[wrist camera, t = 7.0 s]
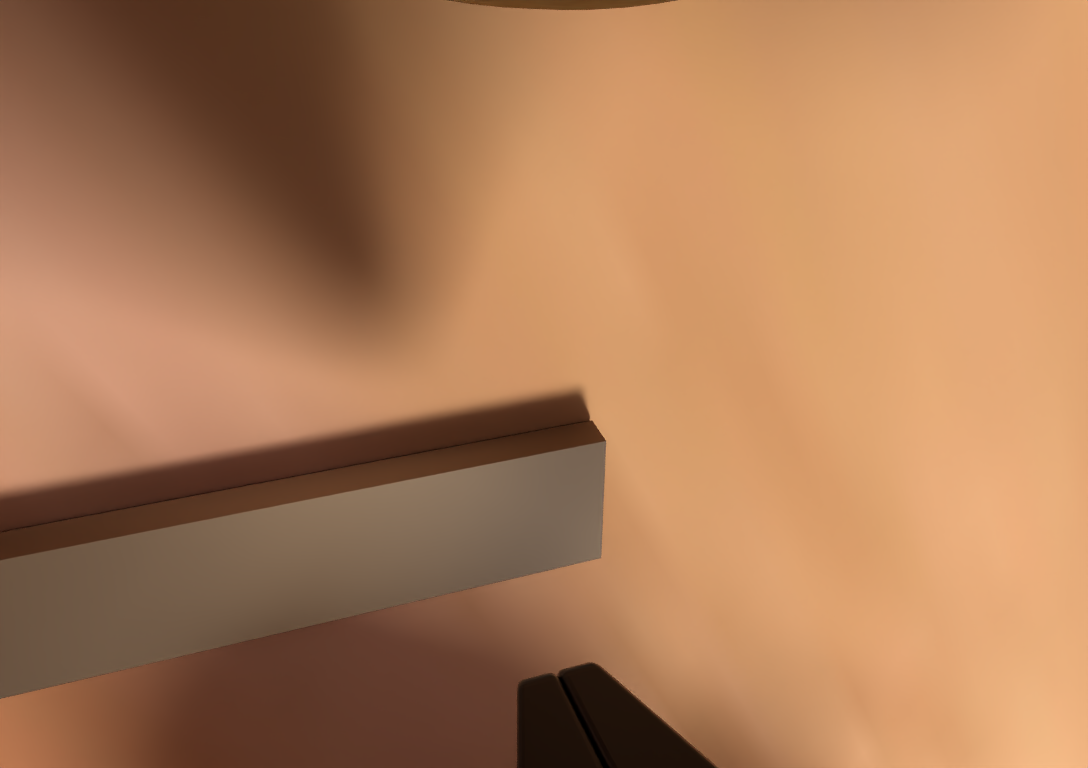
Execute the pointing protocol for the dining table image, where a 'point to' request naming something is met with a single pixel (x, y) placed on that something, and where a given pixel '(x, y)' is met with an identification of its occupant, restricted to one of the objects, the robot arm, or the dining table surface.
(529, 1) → the cupcake
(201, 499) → the rail
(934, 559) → the dining table surface
